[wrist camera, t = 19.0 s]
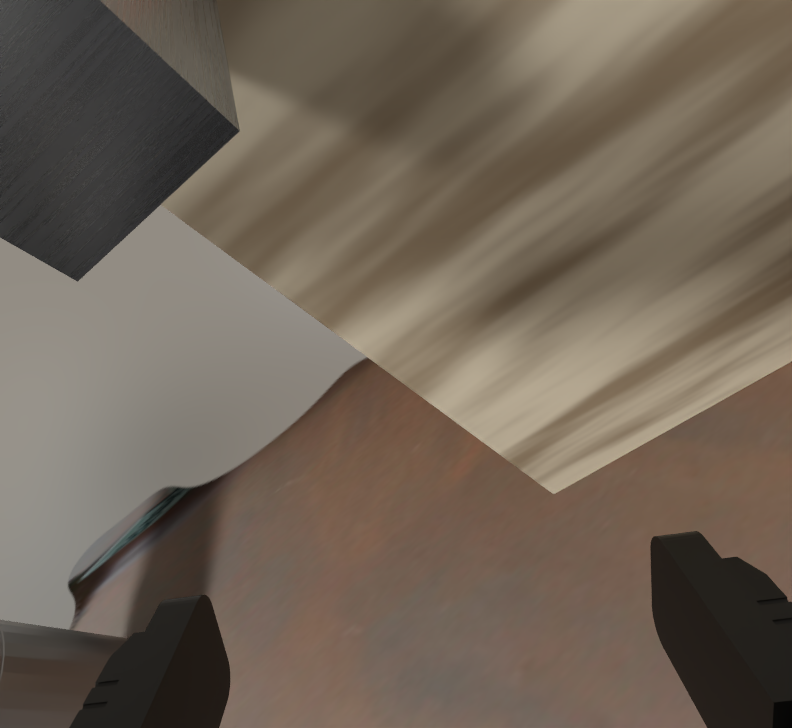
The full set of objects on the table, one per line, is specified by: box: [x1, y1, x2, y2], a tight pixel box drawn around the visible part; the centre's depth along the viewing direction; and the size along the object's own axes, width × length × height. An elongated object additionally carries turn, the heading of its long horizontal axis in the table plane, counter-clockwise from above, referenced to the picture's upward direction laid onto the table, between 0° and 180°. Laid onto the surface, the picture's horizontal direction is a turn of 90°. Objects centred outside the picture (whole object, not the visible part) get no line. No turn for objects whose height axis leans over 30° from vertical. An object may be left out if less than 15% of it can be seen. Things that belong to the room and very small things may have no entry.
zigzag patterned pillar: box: [161, 0, 792, 494], centre depth 27 cm, size 10×18×32 cm, turn 108°
